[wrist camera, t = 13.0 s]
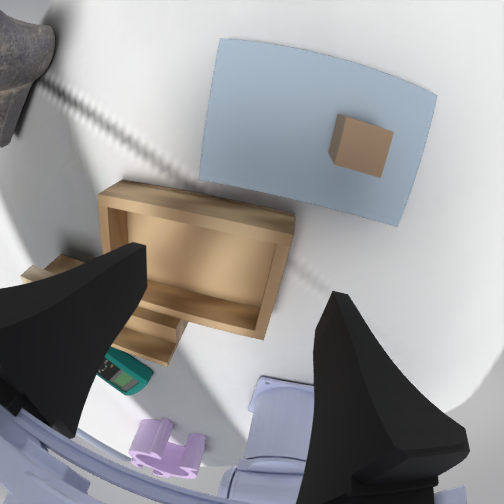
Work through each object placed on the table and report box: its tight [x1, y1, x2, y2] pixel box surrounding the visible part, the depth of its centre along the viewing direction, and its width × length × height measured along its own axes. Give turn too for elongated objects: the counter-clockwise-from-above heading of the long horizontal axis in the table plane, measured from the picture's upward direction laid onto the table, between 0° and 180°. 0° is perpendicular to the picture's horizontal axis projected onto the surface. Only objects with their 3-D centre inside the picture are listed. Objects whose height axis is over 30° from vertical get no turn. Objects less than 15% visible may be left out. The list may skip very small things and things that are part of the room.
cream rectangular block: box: [21, 265, 56, 284], centre depth 20 cm, size 5×2×2 cm, turn 80°
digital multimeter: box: [96, 347, 153, 395], centre depth 31 cm, size 7×15×3 cm, turn 49°
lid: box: [199, 38, 437, 227], centre depth 14 cm, size 13×9×5 cm
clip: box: [129, 418, 206, 479], centre depth 42 cm, size 20×12×7 cm, turn 148°
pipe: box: [0, 10, 55, 147], centre depth 12 cm, size 6×13×8 cm, turn 141°
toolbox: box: [44, 180, 295, 367], centre depth 20 cm, size 22×11×6 cm, turn 80°
